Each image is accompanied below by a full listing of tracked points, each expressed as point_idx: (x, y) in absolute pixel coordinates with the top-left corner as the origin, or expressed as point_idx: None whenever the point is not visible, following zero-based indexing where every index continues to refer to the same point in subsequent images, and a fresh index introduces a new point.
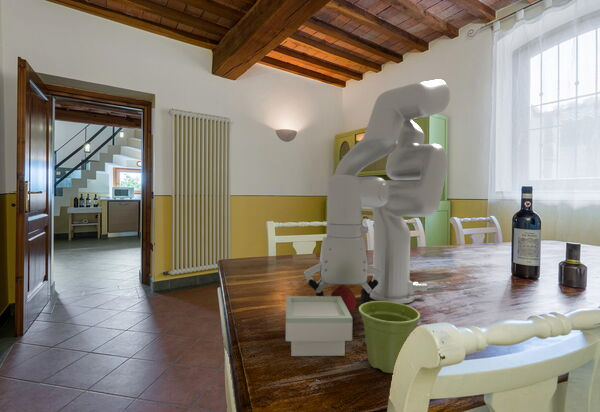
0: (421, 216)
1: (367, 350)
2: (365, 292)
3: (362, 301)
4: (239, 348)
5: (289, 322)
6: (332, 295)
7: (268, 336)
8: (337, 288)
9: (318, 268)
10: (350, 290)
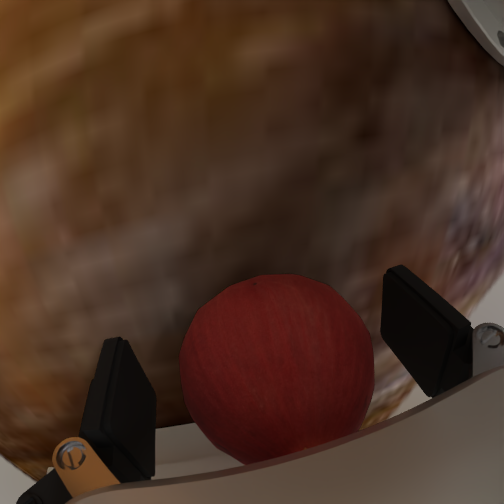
0: None
1: None
2: (445, 386)
3: (404, 326)
4: (33, 477)
5: None
6: (210, 440)
7: (43, 450)
8: (256, 462)
9: None
10: (360, 424)
